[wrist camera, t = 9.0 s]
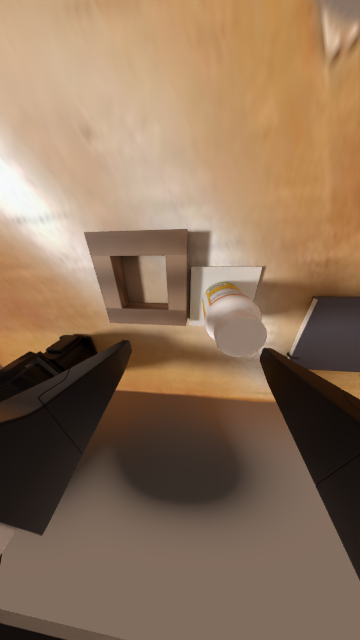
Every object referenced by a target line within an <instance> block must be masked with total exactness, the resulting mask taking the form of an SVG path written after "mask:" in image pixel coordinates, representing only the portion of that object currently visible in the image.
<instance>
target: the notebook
mask: <svg viewBox="0 0 360 640" xmlns="http://www.w3.org/2000/svg"><path fill="white" fill-rule="evenodd" d="M313 298H314V299H313V301H312V303H311V305H310V308H309V310H308V312H307V314H306V316H305V319H304V321H303V323H302V325H301V327H300V330H299V332H298V334H297V336H296V339H295V341H294V343H293V345H292V347H291V350H290V352H289V353H287V358H289V359H290V360H292V361H294V362H296V363H297V364H299V365H301V366H303V367H304V368H306V369H312V370H330V371H348V372H360V297H313Z"/></svg>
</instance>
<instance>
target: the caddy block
mask: <svg viewBox="0 0 360 640" xmlns="http://www.w3.org/2000/svg"><path fill="white" fill-rule="evenodd" d="M84 234H85V238H86V241H87V245H88V248H89V251H90V255H91V258H92V262H93V265H94V269H95V272H96V275H97V279H98V282H99V286H100V289H101V293H102V296H103V300H104V303H105V306H106V310H107V313H108V317H109V320H110V323H129V324H153V325H177V326H186V322H187V282H188V230H187V229H174V230H142V231H109V232H84ZM142 255H166V272H167V290H168V304H162V303H129V298H128V293H127V288H126V283H125V278H124V273H123V268H122V263H121V258H120V256H142Z"/></svg>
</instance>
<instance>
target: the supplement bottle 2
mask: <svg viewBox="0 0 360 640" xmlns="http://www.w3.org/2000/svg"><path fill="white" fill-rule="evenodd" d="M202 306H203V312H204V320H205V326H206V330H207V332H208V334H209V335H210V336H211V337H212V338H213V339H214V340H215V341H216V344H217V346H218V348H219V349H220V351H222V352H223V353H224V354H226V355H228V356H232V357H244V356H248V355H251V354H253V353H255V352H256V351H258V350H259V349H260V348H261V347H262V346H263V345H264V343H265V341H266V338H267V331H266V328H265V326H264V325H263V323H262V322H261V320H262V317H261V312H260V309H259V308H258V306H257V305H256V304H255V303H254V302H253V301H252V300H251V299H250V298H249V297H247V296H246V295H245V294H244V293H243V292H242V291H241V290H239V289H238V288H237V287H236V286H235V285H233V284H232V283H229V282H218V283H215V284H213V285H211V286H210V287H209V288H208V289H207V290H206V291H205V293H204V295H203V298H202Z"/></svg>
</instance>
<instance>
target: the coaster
mask: <svg viewBox="0 0 360 640" xmlns="http://www.w3.org/2000/svg"><path fill="white" fill-rule="evenodd" d="M261 270H262V267H261V266H211V267H191V296H190V326H205V320H204V312H203V306H202V298H203V295H204V293H205V291H206V290H207V289H208V288H209V287H210V286H211V285H213V284H215V283H218V282H229V283H232V284H233V285H235V286H236V287H237V288H238V289H239V290H241V291H242V292H243V293H244V294H245V295H246V296H247V297H249V298H250V299H251V300H252V301H254V298H255V294H256V290H257V286H258V282H259V278H260V274H261Z"/></svg>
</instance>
